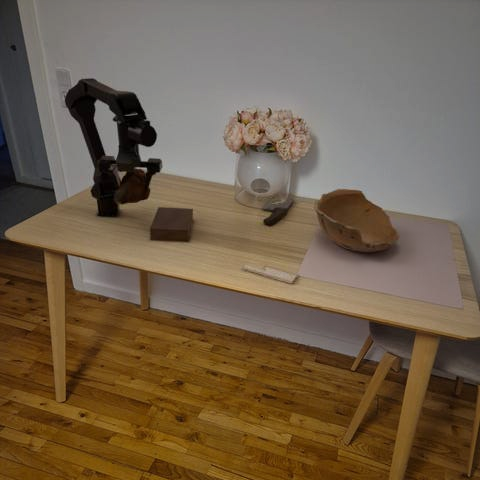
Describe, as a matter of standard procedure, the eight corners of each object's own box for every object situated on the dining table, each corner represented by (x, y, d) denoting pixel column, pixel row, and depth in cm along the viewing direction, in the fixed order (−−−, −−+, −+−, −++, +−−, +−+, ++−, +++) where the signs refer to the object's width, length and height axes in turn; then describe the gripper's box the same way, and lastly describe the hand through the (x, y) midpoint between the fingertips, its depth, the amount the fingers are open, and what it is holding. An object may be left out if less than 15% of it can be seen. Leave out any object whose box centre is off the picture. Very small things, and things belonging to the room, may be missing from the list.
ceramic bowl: (412, 257, 134) (417, 211, 126) (325, 270, 135) (324, 224, 126) (380, 221, 159) (382, 180, 151) (306, 232, 160) (304, 192, 151)
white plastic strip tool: (251, 262, 130) (251, 259, 129) (297, 276, 124) (298, 273, 124) (243, 269, 126) (243, 265, 125) (291, 284, 121) (291, 280, 120)
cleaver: (277, 227, 152) (278, 221, 151) (250, 222, 154) (251, 216, 153) (294, 201, 175) (295, 195, 174) (271, 197, 177) (272, 192, 176)
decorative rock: (144, 196, 145) (141, 162, 140) (154, 200, 142) (151, 166, 136) (112, 203, 139) (107, 168, 133) (121, 208, 135) (117, 172, 129)
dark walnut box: (150, 240, 138) (149, 228, 136) (158, 217, 153) (158, 207, 151) (188, 241, 139) (188, 230, 137) (192, 219, 154) (192, 208, 151)
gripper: (88, 144, 122) (96, 198, 131) (155, 148, 123) (158, 202, 132) (99, 135, 132) (106, 186, 141) (161, 139, 132) (163, 189, 141)
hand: (133, 191), depth 138 cm, fingers closed on decorative rock, 8 cm apart
